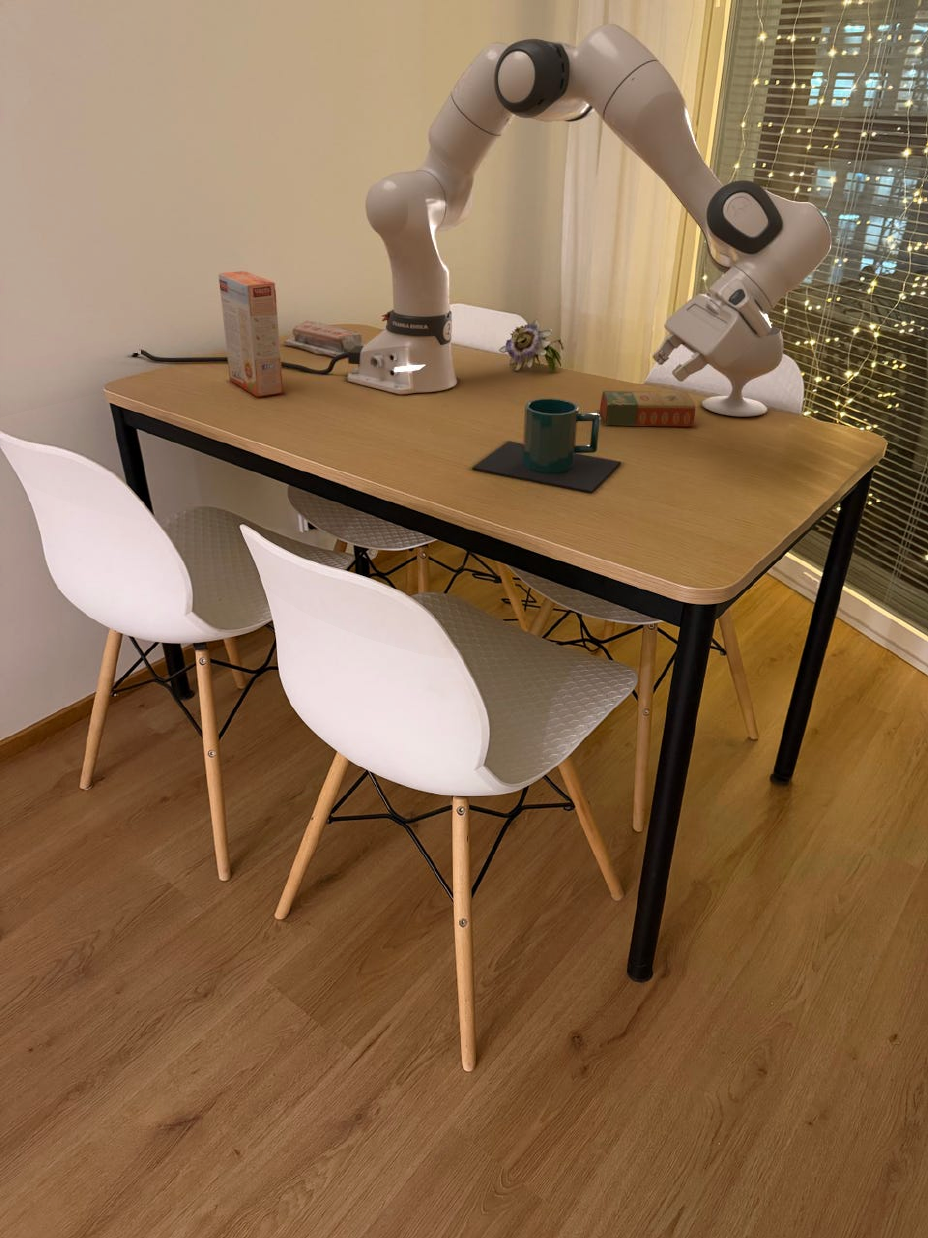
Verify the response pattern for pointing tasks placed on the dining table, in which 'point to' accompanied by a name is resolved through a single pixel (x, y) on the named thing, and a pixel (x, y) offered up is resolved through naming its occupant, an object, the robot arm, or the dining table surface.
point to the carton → (647, 408)
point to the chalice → (748, 376)
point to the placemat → (580, 477)
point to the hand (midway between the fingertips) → (665, 369)
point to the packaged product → (324, 339)
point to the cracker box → (251, 332)
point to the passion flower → (531, 347)
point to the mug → (554, 435)
